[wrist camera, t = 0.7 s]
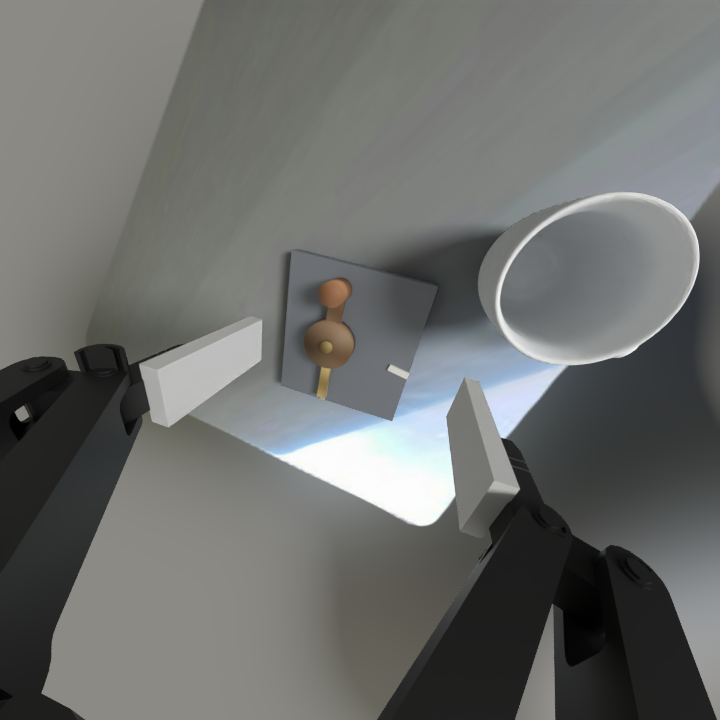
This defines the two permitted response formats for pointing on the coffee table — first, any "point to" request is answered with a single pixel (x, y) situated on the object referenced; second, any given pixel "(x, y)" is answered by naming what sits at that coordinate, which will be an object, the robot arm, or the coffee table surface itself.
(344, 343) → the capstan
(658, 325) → the mug
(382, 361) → the board
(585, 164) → the coffee table surface
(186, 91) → the coffee table surface
